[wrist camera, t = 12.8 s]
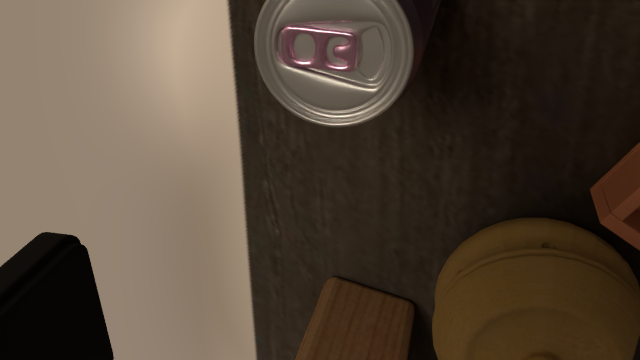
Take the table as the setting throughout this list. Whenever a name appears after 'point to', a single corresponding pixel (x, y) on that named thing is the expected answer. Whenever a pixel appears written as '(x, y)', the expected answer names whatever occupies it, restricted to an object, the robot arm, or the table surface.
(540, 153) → the table surface
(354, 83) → the beverage can
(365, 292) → the decorative item
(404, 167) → the table surface
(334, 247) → the table surface
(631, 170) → the terracotta bin
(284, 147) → the table surface
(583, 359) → the pot
